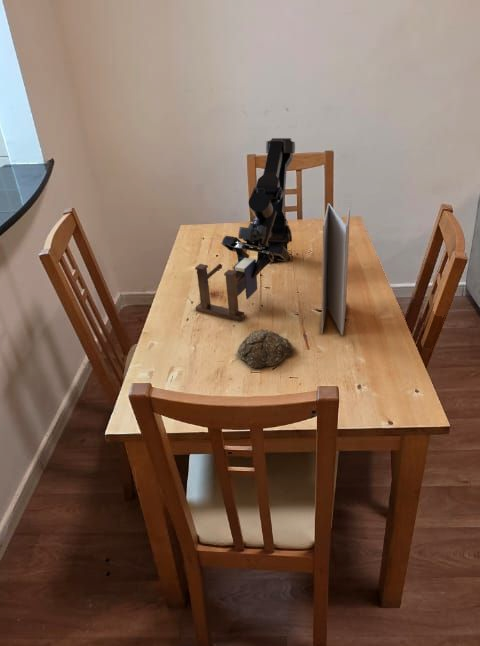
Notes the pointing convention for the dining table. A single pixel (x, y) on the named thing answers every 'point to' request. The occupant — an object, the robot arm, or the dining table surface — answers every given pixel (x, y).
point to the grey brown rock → (264, 349)
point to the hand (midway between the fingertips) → (246, 276)
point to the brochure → (335, 266)
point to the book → (246, 276)
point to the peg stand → (231, 285)
